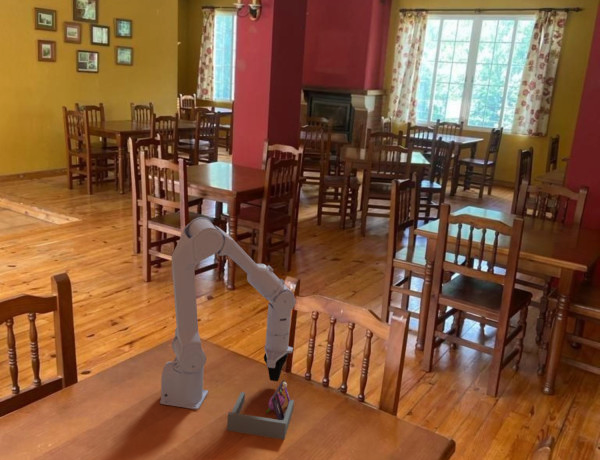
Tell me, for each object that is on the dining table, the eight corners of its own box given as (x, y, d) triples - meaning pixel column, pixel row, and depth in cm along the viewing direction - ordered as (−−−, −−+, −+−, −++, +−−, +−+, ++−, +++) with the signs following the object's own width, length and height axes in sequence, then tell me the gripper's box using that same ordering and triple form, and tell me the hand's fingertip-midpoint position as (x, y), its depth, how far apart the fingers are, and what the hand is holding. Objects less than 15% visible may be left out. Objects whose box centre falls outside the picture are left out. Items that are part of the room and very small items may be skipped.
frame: (226, 430, 127) (227, 414, 126) (240, 401, 139) (241, 386, 138) (284, 439, 126) (285, 423, 125) (293, 409, 137) (294, 394, 136)
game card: (275, 398, 129) (287, 379, 138) (254, 400, 131) (267, 381, 139) (283, 425, 131) (294, 404, 139) (262, 427, 132) (274, 406, 141)
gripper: (288, 346, 135) (284, 397, 139) (298, 321, 149) (294, 368, 153) (259, 342, 136) (256, 392, 140) (271, 317, 150) (268, 364, 153)
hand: (274, 379), depth 146 cm, fingers closed
